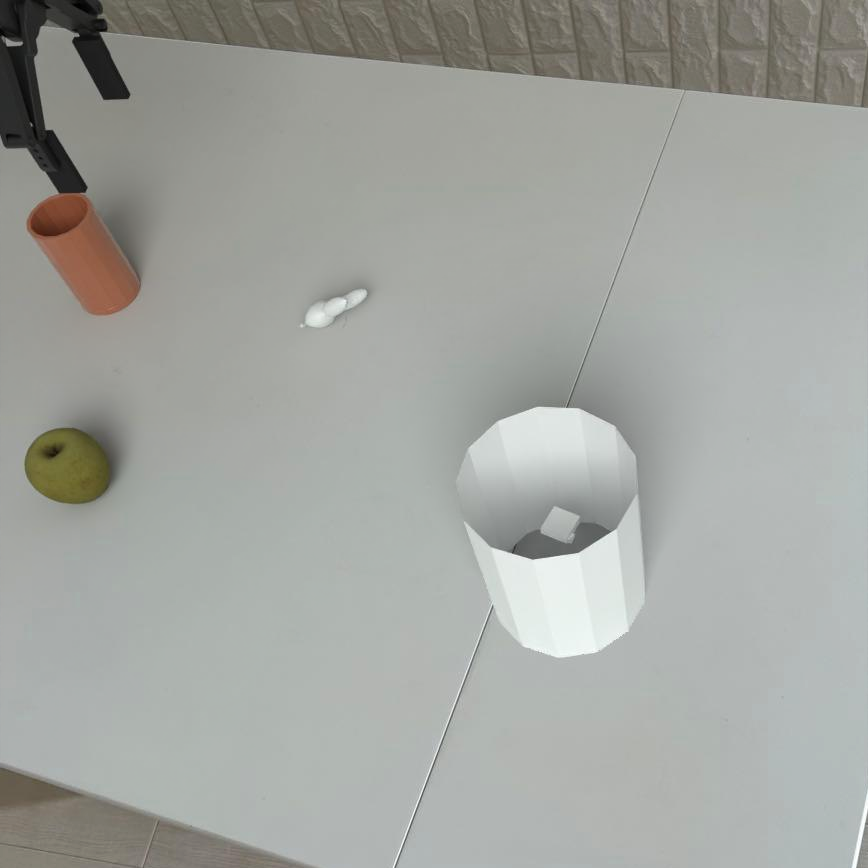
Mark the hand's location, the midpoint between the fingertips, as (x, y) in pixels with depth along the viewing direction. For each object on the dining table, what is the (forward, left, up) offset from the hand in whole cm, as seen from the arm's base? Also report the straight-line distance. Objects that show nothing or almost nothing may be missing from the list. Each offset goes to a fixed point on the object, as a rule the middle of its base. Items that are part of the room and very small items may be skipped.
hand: (96, 142), depth 103 cm
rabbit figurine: (+19, -3, -24) cm, 30 cm away
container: (+47, -36, -23) cm, 64 cm away
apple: (-5, -25, -24) cm, 35 cm away
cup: (-11, +3, -23) cm, 26 cm away
